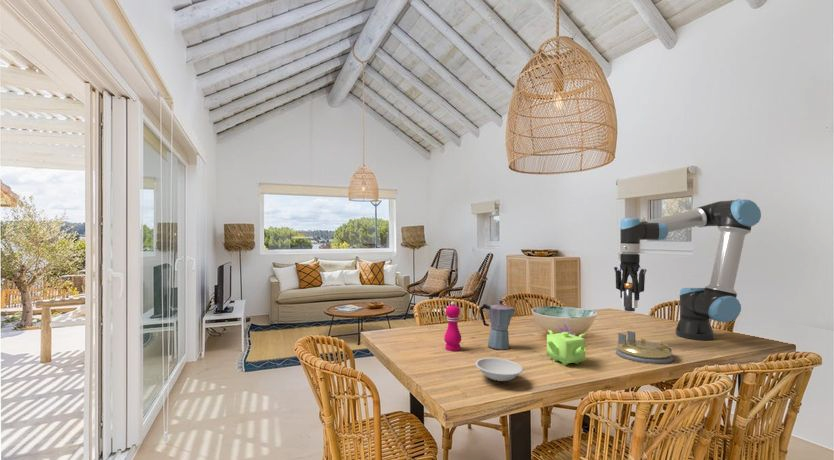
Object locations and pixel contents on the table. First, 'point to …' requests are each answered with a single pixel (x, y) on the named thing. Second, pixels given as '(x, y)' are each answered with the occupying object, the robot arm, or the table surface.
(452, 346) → the pepper mill
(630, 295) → the pin
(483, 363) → the dish
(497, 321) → the moka pot
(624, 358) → the base plate
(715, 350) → the table surface
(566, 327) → the lily
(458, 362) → the table surface
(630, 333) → the gold and gray disc
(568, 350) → the green animal planter
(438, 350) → the table surface
